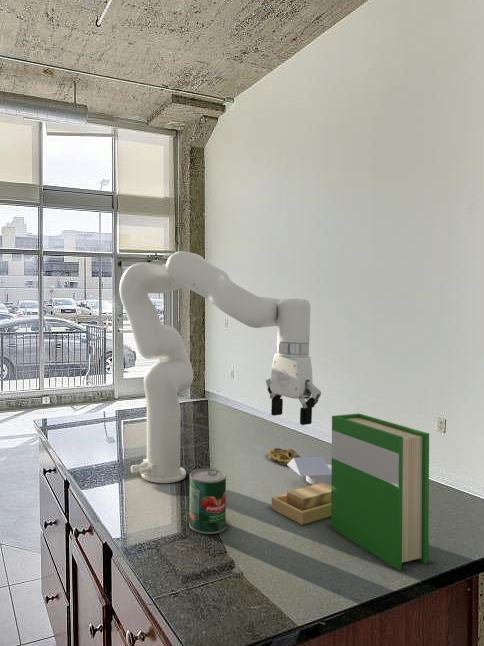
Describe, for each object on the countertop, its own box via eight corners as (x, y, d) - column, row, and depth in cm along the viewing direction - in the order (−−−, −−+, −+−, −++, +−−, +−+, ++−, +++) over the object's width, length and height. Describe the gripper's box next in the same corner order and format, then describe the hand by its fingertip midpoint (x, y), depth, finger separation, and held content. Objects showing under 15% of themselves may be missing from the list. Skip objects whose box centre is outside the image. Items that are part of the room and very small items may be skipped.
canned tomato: (216, 537, 99) (216, 484, 99) (182, 528, 103) (182, 476, 103) (231, 522, 106) (232, 472, 105) (199, 514, 110) (199, 466, 110)
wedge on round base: (300, 489, 125) (347, 486, 127) (300, 463, 125) (347, 461, 127) (286, 476, 134) (330, 474, 136) (287, 452, 134) (330, 450, 136)
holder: (302, 524, 105) (302, 513, 105) (271, 508, 113) (271, 497, 113) (356, 508, 113) (356, 497, 113) (323, 494, 122) (324, 484, 122)
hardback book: (428, 562, 90) (429, 433, 90) (397, 569, 87) (398, 437, 87) (358, 522, 106) (359, 413, 106) (331, 527, 104) (331, 415, 103)
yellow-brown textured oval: (260, 456, 155) (283, 471, 141) (259, 442, 155) (282, 455, 141) (286, 451, 158) (312, 465, 143) (284, 436, 158) (310, 449, 143)
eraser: (303, 515, 108) (303, 499, 108) (286, 507, 113) (287, 491, 113) (339, 504, 114) (339, 489, 114) (322, 497, 119) (322, 482, 118)
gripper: (257, 346, 123) (255, 413, 123) (308, 353, 108) (306, 430, 108) (279, 345, 127) (277, 410, 127) (332, 352, 112) (329, 426, 112)
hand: (290, 419), depth 118 cm, fingers open, 9 cm apart
